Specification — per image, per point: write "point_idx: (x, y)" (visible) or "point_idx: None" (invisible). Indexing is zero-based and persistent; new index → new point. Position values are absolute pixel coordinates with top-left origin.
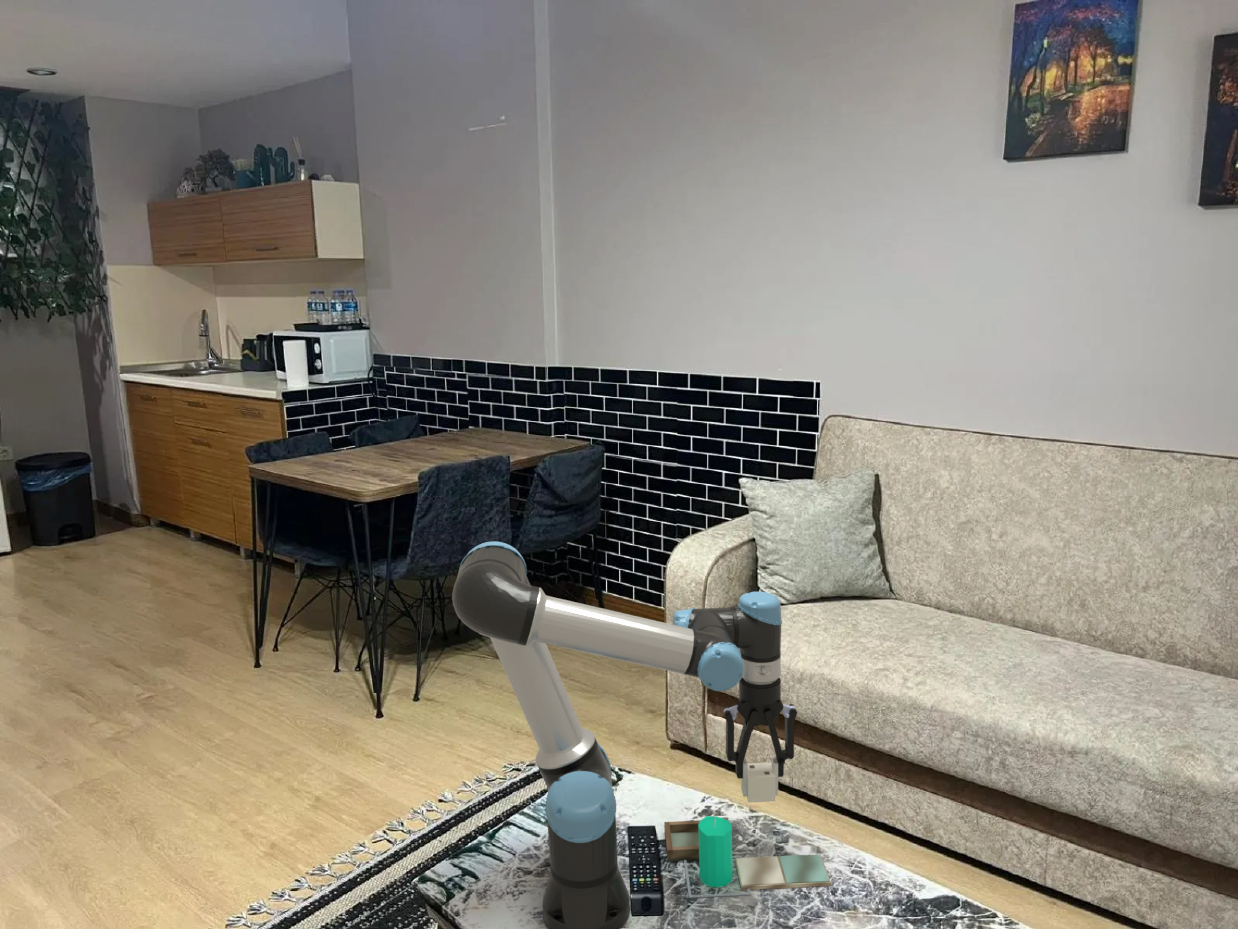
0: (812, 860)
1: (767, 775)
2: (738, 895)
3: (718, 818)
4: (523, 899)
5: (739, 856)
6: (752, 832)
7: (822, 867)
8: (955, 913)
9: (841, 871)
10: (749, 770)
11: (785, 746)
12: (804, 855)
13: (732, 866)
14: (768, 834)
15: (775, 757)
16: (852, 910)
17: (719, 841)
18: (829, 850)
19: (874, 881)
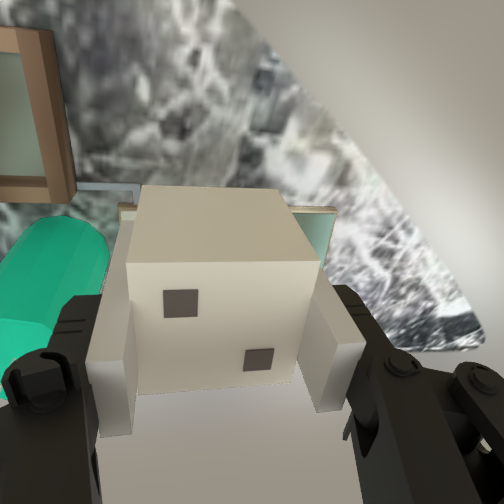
0: (309, 234)
1: (254, 376)
2: None
3: (22, 324)
4: None
5: (132, 187)
6: (188, 65)
7: (320, 257)
8: (460, 342)
9: (354, 250)
10: (156, 337)
11: (481, 433)
12: (299, 216)
13: (104, 273)
14: (237, 86)
15: (358, 357)
16: None
17: None
18: (367, 181)
19: (397, 279)
